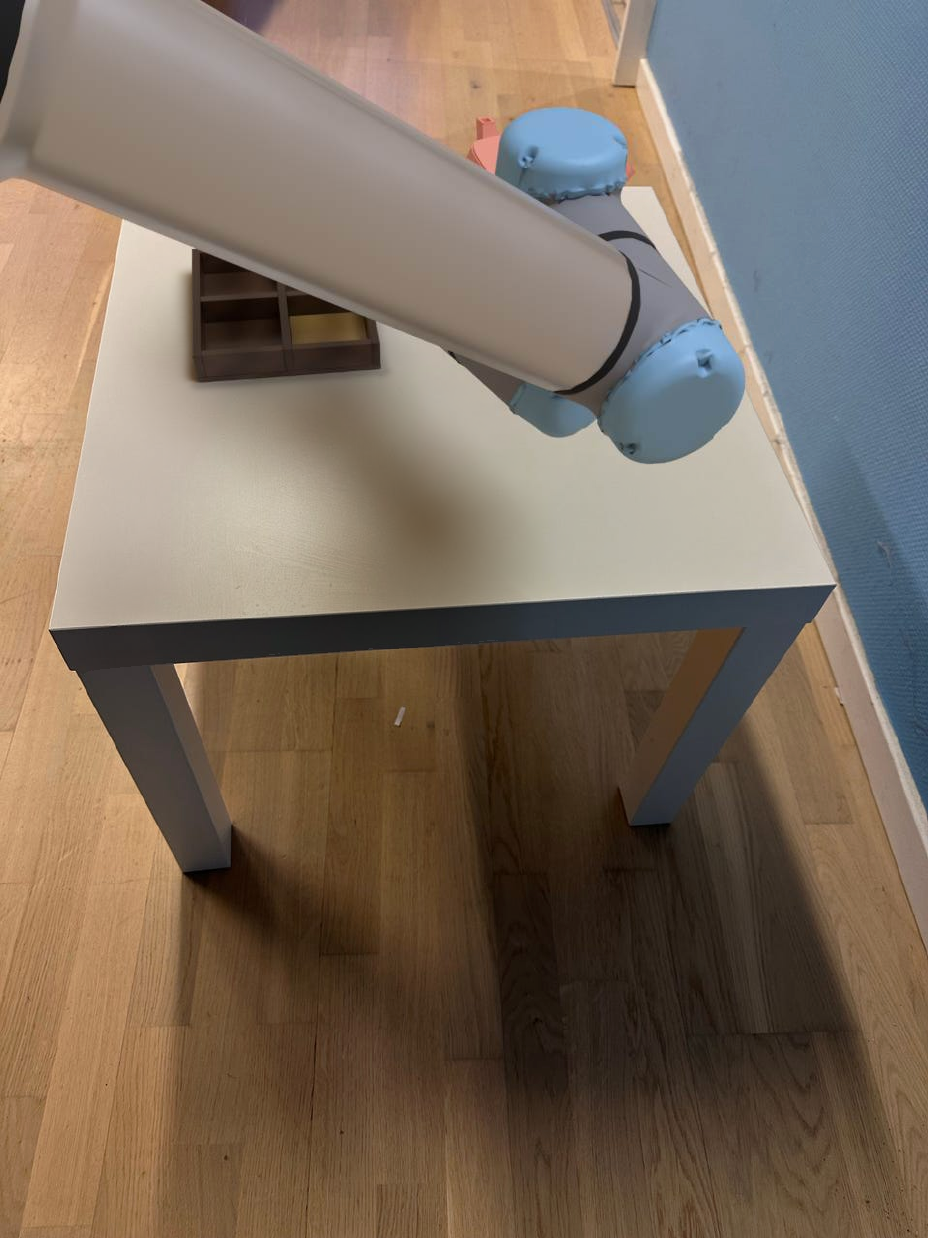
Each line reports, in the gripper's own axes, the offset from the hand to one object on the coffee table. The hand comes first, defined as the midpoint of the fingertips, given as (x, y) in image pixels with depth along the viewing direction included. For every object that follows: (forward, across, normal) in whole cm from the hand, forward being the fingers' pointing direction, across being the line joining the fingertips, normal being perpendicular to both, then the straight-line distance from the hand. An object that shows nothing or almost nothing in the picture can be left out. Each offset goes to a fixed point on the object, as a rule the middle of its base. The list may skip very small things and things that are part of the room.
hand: (284, 156), depth 77 cm
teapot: (-5, +25, -17) cm, 31 cm away
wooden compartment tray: (+2, -1, -17) cm, 17 cm away
